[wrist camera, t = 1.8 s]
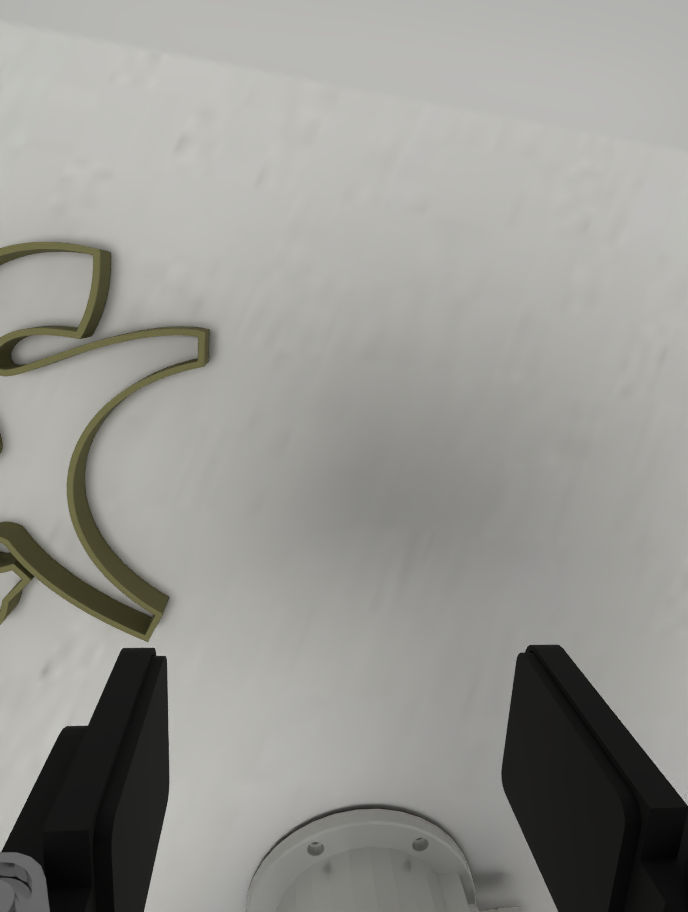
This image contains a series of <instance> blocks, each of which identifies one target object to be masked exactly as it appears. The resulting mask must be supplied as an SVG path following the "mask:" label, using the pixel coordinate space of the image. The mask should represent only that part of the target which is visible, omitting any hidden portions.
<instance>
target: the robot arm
mask: <svg viewBox="0 0 688 912" xmlns="http://www.w3.org/2000/svg"><path fill="white" fill-rule="evenodd" d="M501 774H502V784H503V788H504V791H505V794H506V796H507V799H508V801H509V803H510V805H511V807H512V810H513V812H514V814H515V816H516V819H517V821H518V823H519V825H520V827H521V830H522V832H523V834H524V836H525V839H526V841H527V843H528V845H529V847H530V850H531V852H532V854H533V856H534V859H535V861H536V863H537V865H538V867H539V870H540V872H541V874H542V876H543V879H544V881H545V883H546V885H547V887H548V890H549V892H550V894H551V896H552V899H553V901H554V903H555V905H556V908H557V910H558V912H688V806H687V804H686V803H685V802H684V801H683V799H682V798H681V797H680V796H679V794H678V793H677V792H676V790H675V789H674V788H673V787H672V785H671V784H670V783H669V782H668V780H667V779H666V778H665V777H664V775H663V774H662V773H661V772H660V770H659V769H658V768H657V766H656V765H655V764H654V763H653V761H652V760H651V759H650V758H649V756H648V755H647V754H646V753H645V751H644V750H643V749H642V748H641V746H640V745H639V744H638V743H637V741H636V740H635V739H634V737H633V736H632V735H631V734H630V732H629V731H628V730H627V729H626V727H625V726H624V725H623V724H622V722H621V721H620V720H619V719H618V717H617V716H616V715H615V713H614V712H613V711H612V710H611V708H610V707H609V706H608V705H607V703H606V702H605V701H604V700H603V698H602V697H601V696H600V695H599V693H598V692H597V691H596V690H595V688H594V687H593V686H592V684H591V683H590V682H589V681H588V679H587V678H586V677H585V676H584V674H583V673H582V672H581V671H580V669H579V668H578V667H577V666H576V664H575V663H574V662H573V660H572V659H571V658H570V657H569V655H568V654H567V653H566V652H565V650H564V649H563V648H562V647H561V646H560V645H529V646H528V647H527V649H526V652H525V653H520V654H519V655H518V657H517V661H516V668H515V675H514V683H513V690H512V697H511V705H510V712H509V719H508V727H507V734H506V741H505V749H504V756H503V763H502V773H501ZM168 794H169V739H168V689H167V659H166V656H156V651H155V648H123V649H122V650H121V652H120V654H119V656H118V658H117V661H116V663H115V665H114V668H113V670H112V672H111V674H110V677H109V679H108V681H107V684H106V686H105V688H104V690H103V693H102V695H101V697H100V700H99V702H98V704H97V706H96V709H95V711H94V713H93V716H92V718H91V720H90V722H89V725H88V726H67V727H65V728H63V730H62V731H61V733H60V734H59V736H58V738H57V740H56V742H55V744H54V746H53V748H52V750H51V752H50V754H49V756H48V758H47V760H46V762H45V764H44V766H43V769H42V771H41V773H40V775H39V777H38V779H37V781H36V783H35V785H34V787H33V789H32V791H31V793H30V795H29V797H28V799H27V801H26V803H25V805H24V807H23V809H22V811H21V813H20V815H19V817H18V819H17V821H16V823H15V825H14V827H13V829H12V831H11V833H10V835H9V837H8V840H7V842H6V844H5V846H4V848H3V850H2V852H0V912H144V908H145V904H146V899H147V894H148V890H149V885H150V881H151V876H152V871H153V867H154V862H155V857H156V853H157V848H158V844H159V839H160V834H161V830H162V825H163V821H164V816H165V811H166V807H167V802H168ZM246 912H522V910H521V908H520V907H506V908H495V910H479V909H478V907H477V906H476V889H475V885H474V882H473V879H472V875H471V872H470V868H469V866H468V864H467V861H466V859H465V857H464V854H463V852H462V851H461V850H460V848H459V847H458V846H457V844H456V843H455V842H454V841H453V839H452V838H451V837H450V836H448V835H447V834H446V833H445V832H444V831H442V830H441V829H440V828H439V827H437V826H435V825H434V824H432V823H430V822H428V821H426V820H424V819H422V818H420V817H417V816H414V815H411V814H407V813H404V812H401V811H393V810H385V809H358V810H352V811H347V812H342V813H336V814H333V815H330V816H327V817H324V818H322V819H319V820H316V821H313V822H311V823H310V824H308V825H306V826H304V827H302V828H300V829H299V830H297V831H295V832H293V833H292V834H291V835H289V836H288V837H287V838H286V839H284V840H283V841H282V842H281V843H279V844H278V845H277V846H276V847H275V848H274V849H273V850H272V851H271V852H270V854H269V855H268V856H267V857H266V858H265V859H264V860H263V862H262V863H261V865H260V867H259V869H258V870H257V872H256V874H255V875H254V877H253V879H252V882H251V885H250V889H249V892H248V895H247V904H246Z"/></svg>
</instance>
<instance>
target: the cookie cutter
mask: <svg viewBox="0 0 688 912" xmlns="http://www.w3.org/2000/svg"><path fill="white" fill-rule="evenodd" d="M43 252H78V253H86V254H91V255H93V277H92V285H91V291H90V296H89V300H88V304H87V307H86V310H85V313H84V316H83V318H82V321H81V323H80V325H79V327H78V328H76V327H67V326H43V327H36V328H29V329H23V330H18V331H14V332H11V333H8V334H6V335H4V336H2V337H0V376H12V375H17V374H21V373H24V372H27V371H30V370H34V369H37V368H40V367H43V366H46V365H49V364H52V363H54V362H57V361H60V360H63V359H66V358H68V357H71V356H74V355H77V354H80V353H83V352H86V351H89V350H92V349H96V348H99V347H103V346H107V345H111V344H115V343H119V342H123V341H128V340H133V339H139V338H145V337H153V336H165V335H185V336H196V337H198V358H197V359H193V360H189V361H185V362H182V363H178V364H175V365H172V366H170V367H167V368H164V369H162V370H160V371H157V372H155V373H153V374H151V375H149V376H147V377H145V378H143V379H142V380H140V381H138V382H137V383H135V384H133V385H132V386H130V387H129V388H127V389H126V390H124V391H123V392H121V393H120V394H118V395H117V396H116V397H115V398H113V399H112V400H111V401H110V402H108V403H107V404H106V405H105V406H104V407H103V408H102V409H101V410H100V411H99V412H98V413H97V414H96V415H95V417H94V418H93V419H92V420H91V421H90V423H89V424H88V425H87V427H86V428H85V430H84V431H83V433H82V435H81V437H80V438H79V440H78V442H77V444H76V447H75V449H74V452H73V454H72V458H71V461H70V465H69V470H68V477H67V500H68V507H69V512H70V516H71V520H72V523H73V526H74V529H75V531H76V534H77V536H78V538H79V540H80V542H81V544H82V546H83V547H84V549H85V551H86V552H87V554H88V555H89V557H90V558H91V560H92V561H93V563H94V564H95V565H96V566H97V568H98V569H99V570H100V571H101V572H102V573H103V575H104V576H105V577H106V578H107V579H108V580H109V581H110V582H111V583H112V584H113V585H114V586H115V587H117V588H118V589H119V590H120V591H121V592H122V593H123V594H125V595H126V596H127V597H128V598H130V599H131V600H132V601H134V602H135V603H136V604H138V605H139V606H141V607H142V608H144V609H145V610H147V611H148V612H150V613H152V614H153V616H152V617H150V616H148V615H146V614H144V613H141V612H139V611H137V610H135V609H133V608H130V607H128V606H126V605H124V604H122V603H120V602H118V601H116V600H115V599H113V598H111V597H109V596H107V595H105V594H104V593H102V592H100V591H98V590H97V589H95V588H93V587H92V586H90V585H88V584H87V583H85V582H84V581H82V580H81V579H79V578H78V577H76V576H75V575H73V574H72V573H71V572H69V571H68V570H67V569H65V568H64V567H63V566H61V565H60V564H59V563H58V562H57V561H55V560H54V559H53V558H52V557H51V556H50V555H49V554H47V553H46V552H45V551H44V550H43V549H42V548H41V547H40V546H39V545H38V544H37V542H36V541H35V540H34V539H33V538H32V537H31V536H30V535H29V533H28V532H27V531H26V529H25V528H24V527H23V526H21V525H19V524H17V523H13V522H1V523H0V543H2V544H4V545H5V546H6V547H7V549H8V550H9V551H10V552H11V553H4V552H0V573H3V572H8V571H11V570H12V571H14V572H15V573H16V574H17V575H18V576H19V577H20V578H21V580H20V581H19V582H18V583H17V584H16V586H15V587H14V588H13V589H12V590H11V591H10V592H9V593H8V594H7V596H6V597H5V598H4V599H3V600H2V606H1V610H0V625H1V623H2V622H3V621H4V620H5V619H6V617H7V616H8V615H9V614H10V613H11V611H12V610H13V609H14V608H15V607H16V605H17V604H18V602H19V600H20V597H21V594H22V589H23V587H24V586H25V585H26V584H27V583H28V582H29V581H30V580H31V579H32V578H33V577H34V576H35V577H36V578H37V579H38V580H39V581H41V582H42V583H43V584H44V585H46V586H47V587H48V588H50V589H51V590H52V591H54V592H55V593H56V594H58V595H59V596H61V597H62V598H64V599H65V600H67V601H68V602H70V603H71V604H73V605H75V606H76V607H78V608H80V609H81V610H83V611H85V612H86V613H88V614H90V615H92V616H94V617H95V618H97V619H99V620H101V621H103V622H105V623H107V624H109V625H111V626H113V627H115V628H117V629H119V630H121V631H124V632H126V633H128V634H130V635H133V636H135V637H137V638H139V639H142V640H144V641H147V642H148V641H149V639H150V637H151V635H152V633H153V631H154V630H155V628H156V626H157V624H158V622H159V620H160V618H161V616H162V614H163V612H164V609H165V606H166V604H167V601H168V598H169V597H168V596H167V595H165V594H163V593H162V592H160V591H158V590H157V589H155V588H154V587H152V586H151V585H149V584H148V583H147V582H145V581H144V580H143V579H141V578H140V577H139V576H138V575H136V574H135V573H134V572H133V571H132V570H131V569H130V568H128V567H127V566H126V565H125V564H124V563H123V562H122V561H121V560H120V559H119V557H118V556H117V555H116V554H115V553H114V552H113V551H112V549H111V548H110V547H109V545H108V544H107V543H106V541H105V540H104V538H103V537H102V535H101V533H100V532H99V530H98V528H97V526H96V524H95V522H94V520H93V517H92V515H91V512H90V509H89V506H88V502H87V497H86V491H85V466H86V460H87V455H88V452H89V449H90V446H91V443H92V441H93V438H94V436H95V434H96V432H97V431H98V429H99V427H100V426H101V424H102V423H103V421H104V420H105V419H106V417H107V416H108V415H109V414H110V412H111V411H112V410H113V409H114V408H115V407H116V406H117V405H118V404H119V403H120V402H121V401H122V400H124V399H125V398H126V397H127V396H129V395H130V394H131V393H133V392H135V391H136V390H138V389H140V388H142V387H144V386H146V385H148V384H150V383H152V382H154V381H156V380H159V379H161V378H164V377H167V376H169V375H172V374H176V373H179V372H182V371H186V370H190V369H195V368H199V367H204V366H205V365H206V364H207V363H208V356H209V329H205V328H198V327H162V328H154V329H147V330H141V331H136V332H131V333H127V334H122V335H118V336H114V337H111V338H107V339H103V340H100V341H96V342H93V343H89V344H86V345H83V346H80V347H76V348H73V349H70V350H67V351H64V352H61V353H58V354H56V355H53V356H50V357H47V358H44V359H41V360H39V361H36V362H33V363H30V364H27V365H17V364H15V363H13V362H12V360H11V352H12V349H13V347H14V346H15V345H16V344H17V343H18V342H19V341H20V340H22V339H23V338H25V337H28V336H30V335H56V336H65V337H71V338H77V339H82V338H86V337H90V336H92V335H93V333H94V331H95V329H96V327H97V325H98V323H99V321H100V318H101V316H102V313H103V310H104V307H105V303H106V299H107V295H108V290H109V283H110V273H111V252H108V251H104V250H99V249H95V248H91V247H86V246H81V245H76V244H69V243H59V242H32V243H23V244H16V245H11V246H7V247H3V248H0V265H2V264H4V263H6V262H8V261H11V260H13V259H16V258H19V257H22V256H26V255H31V254H36V253H43ZM2 447H3V444H2V438H1V435H0V453H1V452H2Z"/></svg>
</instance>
